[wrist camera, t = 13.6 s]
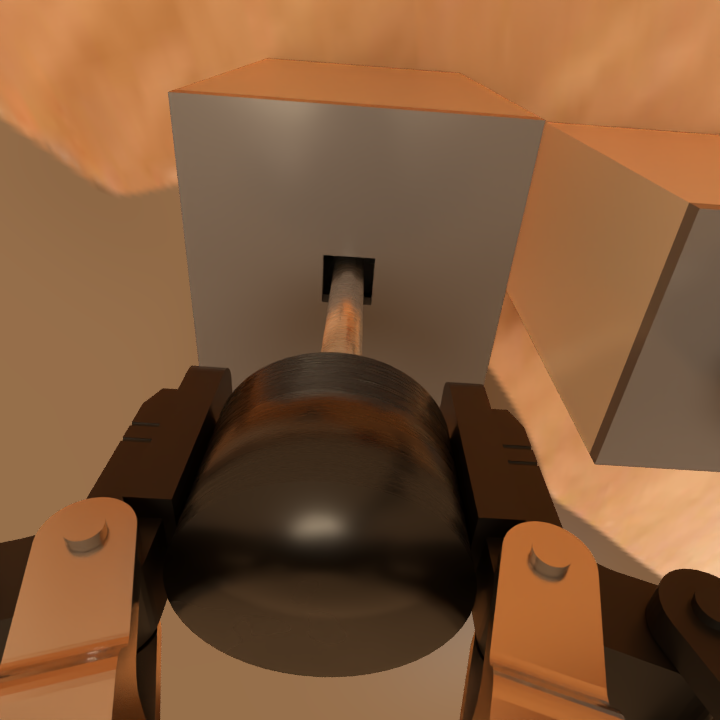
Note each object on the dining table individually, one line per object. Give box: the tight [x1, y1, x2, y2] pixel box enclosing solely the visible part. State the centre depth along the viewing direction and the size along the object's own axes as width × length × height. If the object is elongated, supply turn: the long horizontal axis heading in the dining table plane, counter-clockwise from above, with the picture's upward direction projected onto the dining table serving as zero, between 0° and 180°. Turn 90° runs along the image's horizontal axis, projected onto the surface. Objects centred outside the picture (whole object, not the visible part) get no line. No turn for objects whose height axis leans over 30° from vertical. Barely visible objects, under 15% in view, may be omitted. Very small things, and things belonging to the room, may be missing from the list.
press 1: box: [168, 58, 545, 408], centre depth 23 cm, size 10×10×16 cm
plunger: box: [163, 255, 477, 677], centre depth 16 cm, size 8×8×19 cm
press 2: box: [506, 122, 720, 472], centre depth 25 cm, size 10×10×16 cm
